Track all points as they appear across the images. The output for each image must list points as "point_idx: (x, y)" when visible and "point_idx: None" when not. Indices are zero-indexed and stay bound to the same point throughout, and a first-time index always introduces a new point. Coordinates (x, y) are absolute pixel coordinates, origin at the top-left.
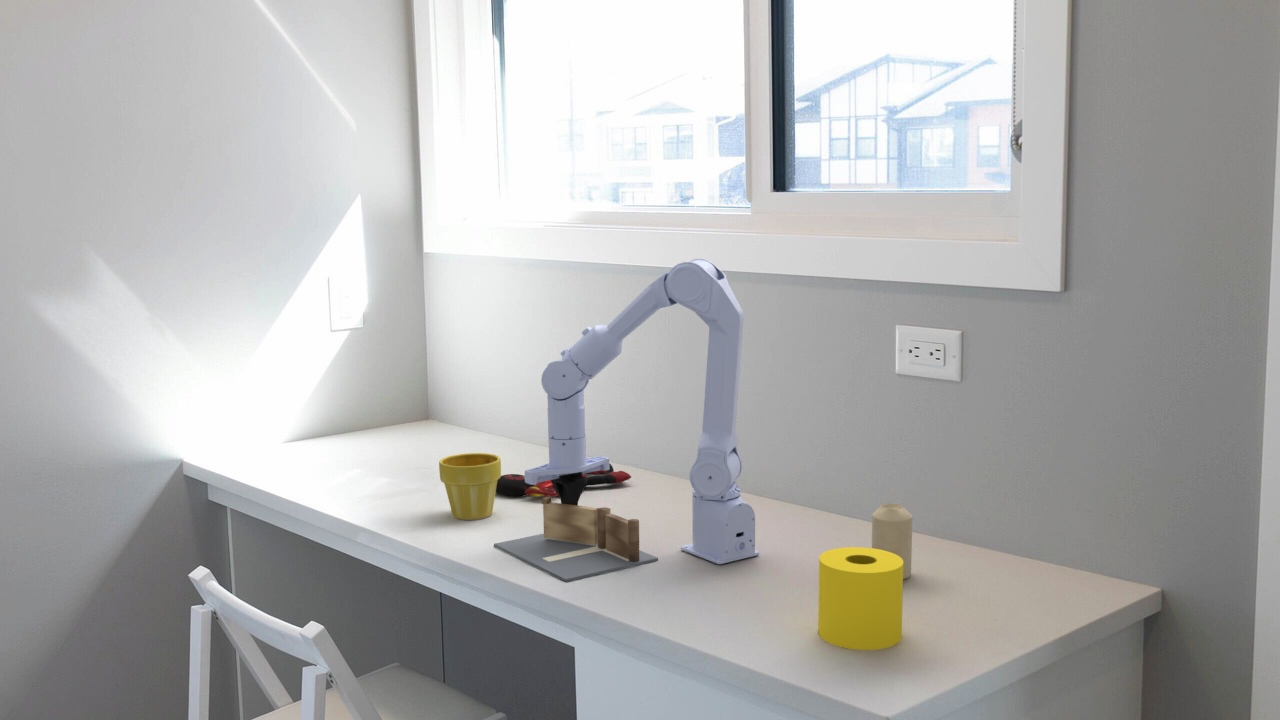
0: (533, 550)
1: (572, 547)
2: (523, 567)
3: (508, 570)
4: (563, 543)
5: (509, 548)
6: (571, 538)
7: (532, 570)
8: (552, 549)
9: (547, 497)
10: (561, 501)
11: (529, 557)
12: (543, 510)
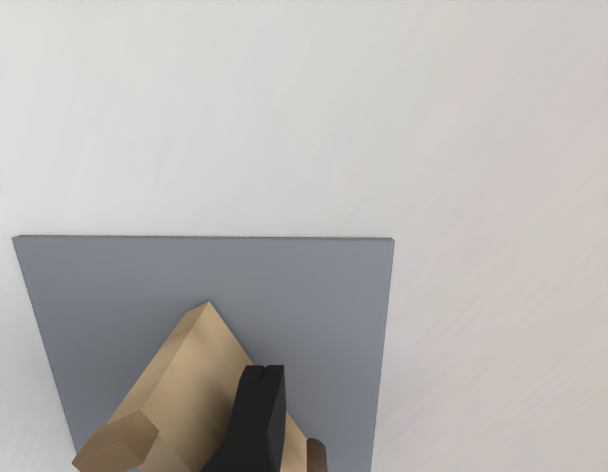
0: (116, 370)
1: None
2: (54, 437)
3: (9, 435)
4: None
5: (50, 314)
6: None
7: (69, 463)
8: None
9: (116, 458)
10: (228, 434)
11: (82, 412)
12: (127, 395)
